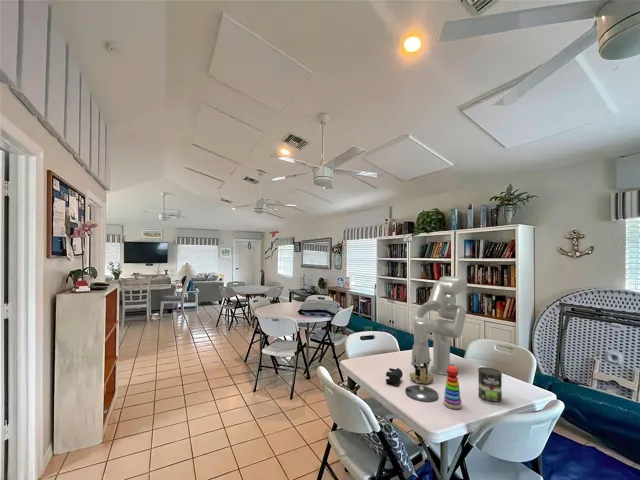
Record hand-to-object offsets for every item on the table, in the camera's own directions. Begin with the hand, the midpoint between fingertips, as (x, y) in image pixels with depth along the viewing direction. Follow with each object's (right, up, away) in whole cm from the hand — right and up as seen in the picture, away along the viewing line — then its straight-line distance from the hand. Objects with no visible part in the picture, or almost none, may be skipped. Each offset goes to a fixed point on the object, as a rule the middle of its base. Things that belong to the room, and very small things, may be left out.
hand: (421, 374), depth 169 cm
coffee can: (+27, -3, -21) cm, 34 cm away
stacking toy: (+5, -3, -28) cm, 28 cm away
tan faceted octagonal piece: (0, -2, 0) cm, 2 cm away
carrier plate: (-6, -3, -17) cm, 18 cm away
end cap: (-16, -3, -3) cm, 17 cm away
